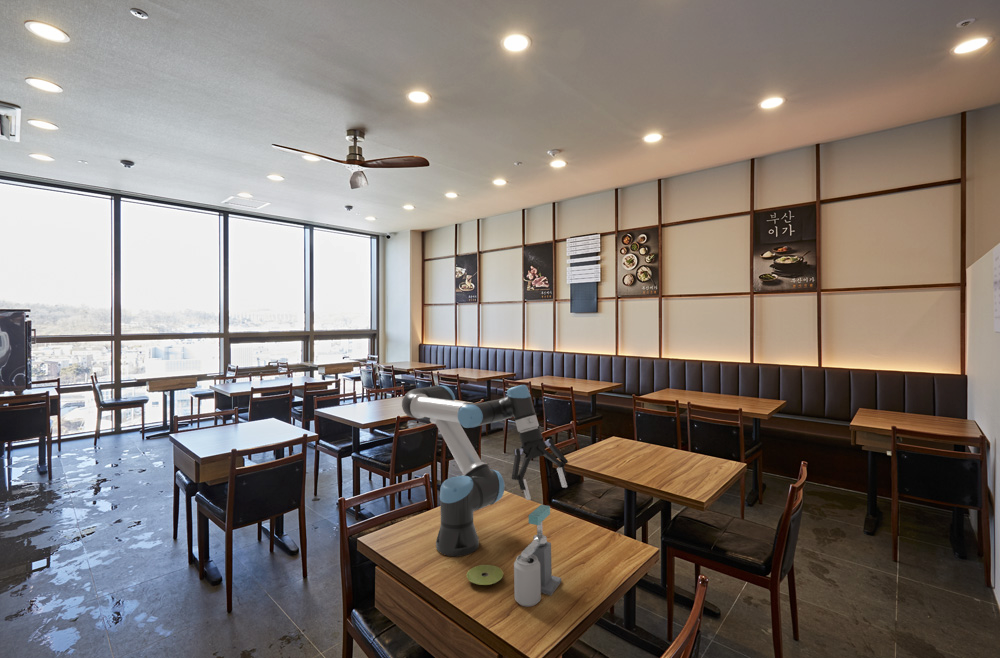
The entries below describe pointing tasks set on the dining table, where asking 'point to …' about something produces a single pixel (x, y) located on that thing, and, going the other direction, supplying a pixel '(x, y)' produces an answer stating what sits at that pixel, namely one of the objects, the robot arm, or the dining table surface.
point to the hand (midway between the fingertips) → (547, 493)
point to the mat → (484, 574)
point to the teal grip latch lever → (538, 539)
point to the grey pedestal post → (546, 570)
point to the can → (527, 580)
